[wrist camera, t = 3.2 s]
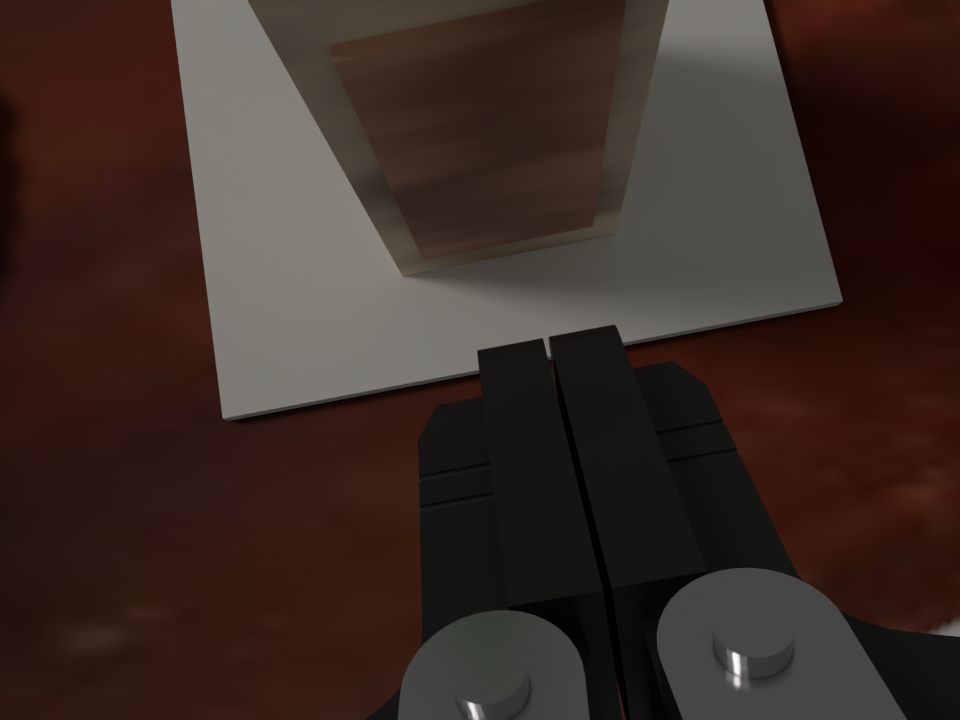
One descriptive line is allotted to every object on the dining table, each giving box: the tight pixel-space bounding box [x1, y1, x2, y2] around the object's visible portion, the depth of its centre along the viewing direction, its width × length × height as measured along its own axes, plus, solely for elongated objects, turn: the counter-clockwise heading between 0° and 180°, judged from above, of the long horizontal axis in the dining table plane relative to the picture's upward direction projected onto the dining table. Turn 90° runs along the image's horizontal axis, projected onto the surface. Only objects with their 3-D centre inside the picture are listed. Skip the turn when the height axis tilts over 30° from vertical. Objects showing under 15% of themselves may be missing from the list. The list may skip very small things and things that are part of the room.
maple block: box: [247, 0, 669, 276], centre depth 19 cm, size 6×6×14 cm
